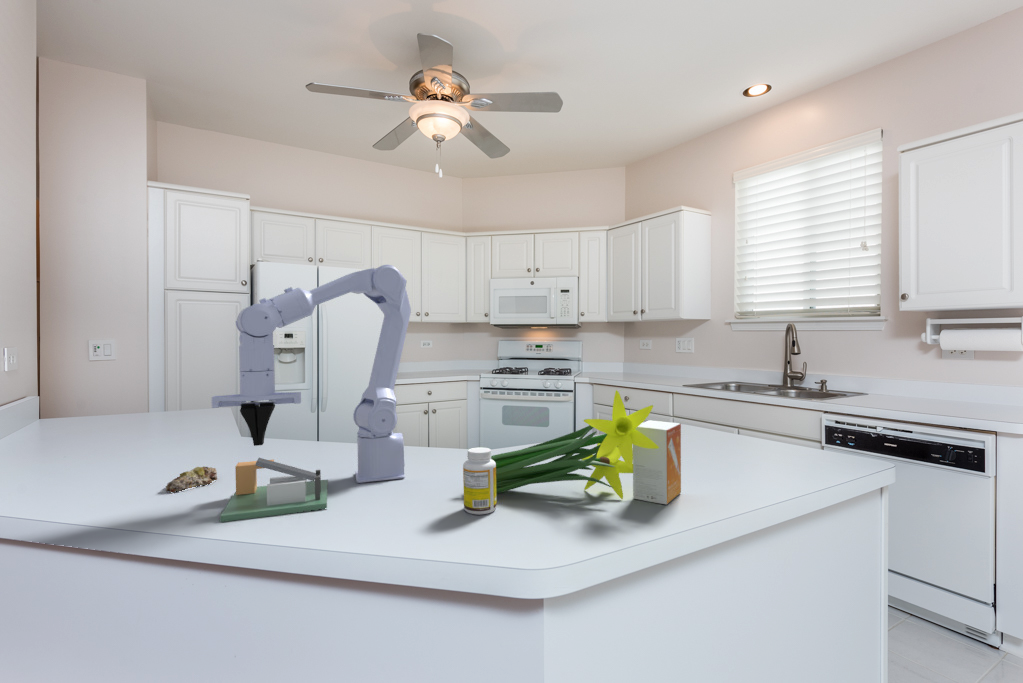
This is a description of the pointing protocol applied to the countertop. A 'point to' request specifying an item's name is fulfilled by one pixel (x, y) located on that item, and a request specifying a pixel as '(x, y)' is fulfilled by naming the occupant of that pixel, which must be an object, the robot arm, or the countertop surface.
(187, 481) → the mineral rock
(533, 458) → the daffodil flowers
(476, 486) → the supplement bottle
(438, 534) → the countertop surface
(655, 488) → the small box
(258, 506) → the board
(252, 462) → the orange l-shaped block
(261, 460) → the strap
